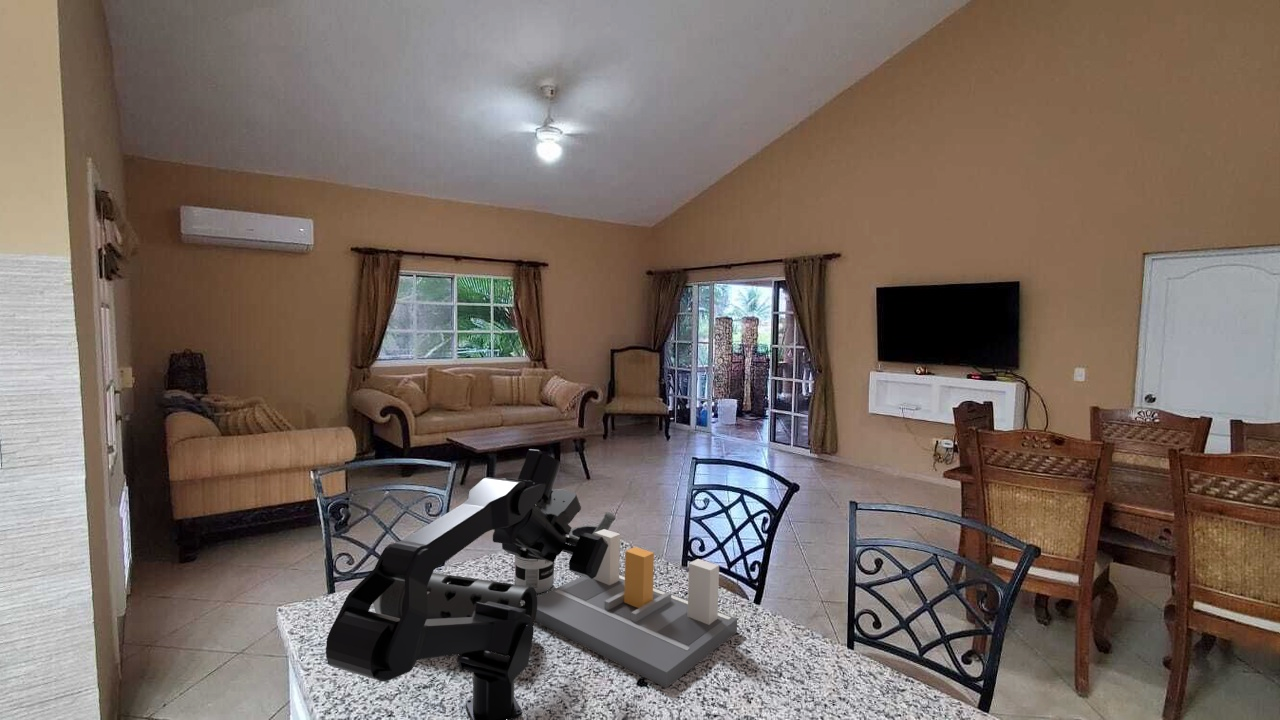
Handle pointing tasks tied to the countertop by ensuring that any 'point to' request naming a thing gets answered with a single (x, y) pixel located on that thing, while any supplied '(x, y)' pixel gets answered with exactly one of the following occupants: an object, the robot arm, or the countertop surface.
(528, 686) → the countertop surface
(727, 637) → the slotted gray tray
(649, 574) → the orange tall block
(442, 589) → the muzzle brake
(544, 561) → the supplement can
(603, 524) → the mortar and pestle
